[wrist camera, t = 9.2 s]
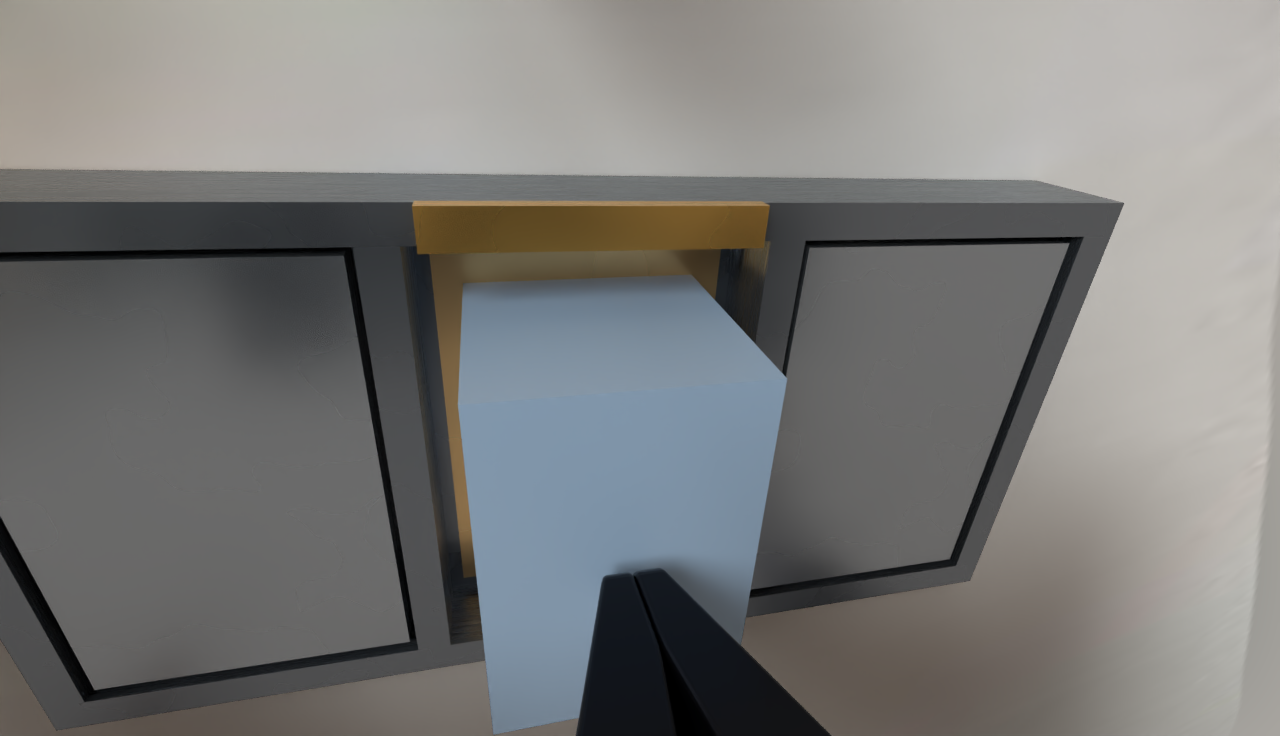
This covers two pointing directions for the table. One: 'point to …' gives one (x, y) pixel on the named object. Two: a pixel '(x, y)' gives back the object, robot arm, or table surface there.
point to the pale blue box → (604, 465)
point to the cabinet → (428, 399)
